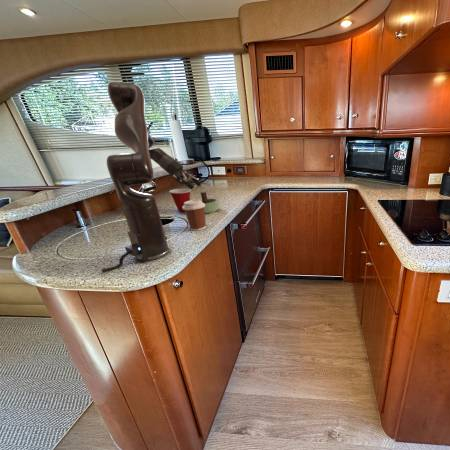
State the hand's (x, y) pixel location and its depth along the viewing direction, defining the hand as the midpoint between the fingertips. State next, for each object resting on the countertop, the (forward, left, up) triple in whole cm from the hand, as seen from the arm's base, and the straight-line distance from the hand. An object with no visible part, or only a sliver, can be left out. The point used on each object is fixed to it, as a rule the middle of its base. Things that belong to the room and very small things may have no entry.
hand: (196, 186), depth 126 cm
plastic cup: (-3, +10, -14) cm, 18 cm away
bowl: (+2, -3, -14) cm, 14 cm away
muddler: (+2, -3, -13) cm, 14 cm away
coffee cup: (-18, -23, -14) cm, 32 cm away
